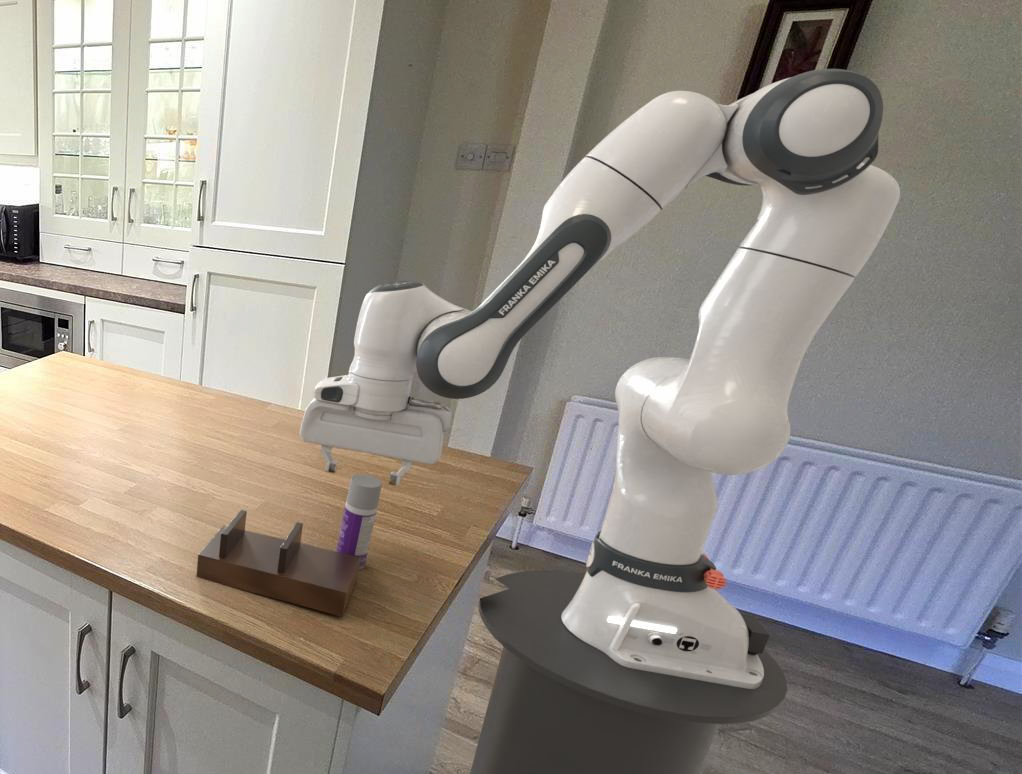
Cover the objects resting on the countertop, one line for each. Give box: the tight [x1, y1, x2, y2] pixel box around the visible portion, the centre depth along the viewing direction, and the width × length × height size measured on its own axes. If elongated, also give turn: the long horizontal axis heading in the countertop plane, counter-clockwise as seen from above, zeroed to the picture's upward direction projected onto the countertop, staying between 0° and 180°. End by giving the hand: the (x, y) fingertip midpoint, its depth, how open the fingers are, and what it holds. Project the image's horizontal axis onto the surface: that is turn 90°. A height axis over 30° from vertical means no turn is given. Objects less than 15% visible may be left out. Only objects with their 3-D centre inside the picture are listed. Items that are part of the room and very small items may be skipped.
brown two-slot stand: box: [195, 509, 361, 617], centre depth 114 cm, size 22×12×8 cm, turn 60°
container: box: [335, 473, 383, 571], centre depth 117 cm, size 5×5×15 cm
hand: (361, 478), depth 115 cm, fingers open, 8 cm apart
